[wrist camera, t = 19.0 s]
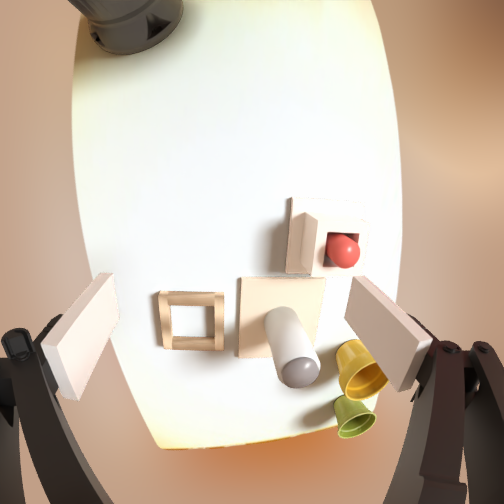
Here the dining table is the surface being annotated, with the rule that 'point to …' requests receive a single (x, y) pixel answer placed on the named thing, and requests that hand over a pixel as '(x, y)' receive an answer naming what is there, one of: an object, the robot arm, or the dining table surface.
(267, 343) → the sand mat
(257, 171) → the dining table surface
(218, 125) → the dining table surface
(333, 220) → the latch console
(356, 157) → the dining table surface
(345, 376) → the plant pot
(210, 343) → the socket
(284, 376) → the filter cartridge
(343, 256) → the latch button
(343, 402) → the plant pot
